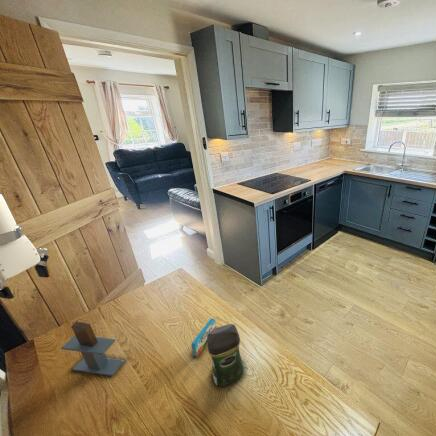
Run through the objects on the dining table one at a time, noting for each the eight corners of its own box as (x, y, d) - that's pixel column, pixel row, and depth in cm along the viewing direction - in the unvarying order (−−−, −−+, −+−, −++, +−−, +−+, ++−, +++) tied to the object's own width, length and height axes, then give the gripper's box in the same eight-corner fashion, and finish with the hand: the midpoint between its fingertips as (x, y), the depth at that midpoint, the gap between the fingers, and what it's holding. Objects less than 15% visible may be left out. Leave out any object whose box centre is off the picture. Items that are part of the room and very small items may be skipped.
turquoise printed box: (213, 329, 93) (211, 317, 90) (216, 330, 93) (214, 318, 90) (193, 356, 82) (190, 344, 80) (197, 357, 82) (194, 345, 79)
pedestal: (73, 371, 77) (60, 347, 72) (87, 356, 81) (76, 334, 77) (112, 377, 75) (102, 353, 71) (124, 362, 80) (115, 339, 76)
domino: (79, 345, 73) (70, 326, 70) (85, 339, 75) (76, 321, 72) (93, 346, 73) (84, 328, 70) (98, 341, 75) (90, 322, 71)
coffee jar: (239, 356, 82) (235, 317, 75) (246, 377, 76) (242, 336, 69) (210, 369, 78) (203, 328, 71) (215, 392, 72) (208, 350, 64)
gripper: (24, 223, 73) (46, 268, 80) (-57, 252, 58) (-21, 306, 64) (46, 224, 72) (66, 270, 79) (-31, 255, 57) (3, 309, 64)
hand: (27, 286), depth 72 cm, fingers open, 9 cm apart
